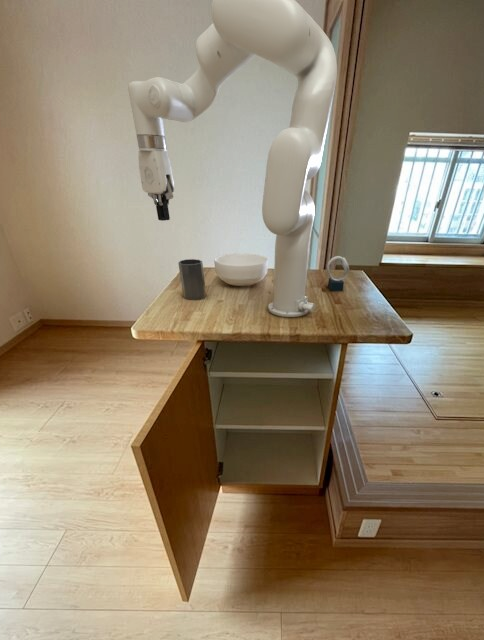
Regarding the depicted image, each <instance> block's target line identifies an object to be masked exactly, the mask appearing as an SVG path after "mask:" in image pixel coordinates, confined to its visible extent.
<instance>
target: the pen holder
mask: <svg viewBox="0 0 484 640" xmlns="http://www.w3.org/2000/svg"><path fill="white" fill-rule="evenodd" d="M177 264H178V269H179V276H180V283H181V284H180V285H181V290H182V296H183V298H184V299H186V300H190V301H191V300H192V301H196V300H197V301H198V300H203V299H204V298H205V297H206V294H207V293H206V283H205V272H204V264H203V260H201V259H195V258H189V259H187V258H186V259H182V260H179V261H178V263H177Z"/></svg>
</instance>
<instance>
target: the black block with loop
mask: <svg viewBox="0 0 484 640" xmlns="http://www.w3.org/2000/svg"><path fill="white" fill-rule="evenodd" d="M337 259H340V263H341V266H342V268H343V270H344V274H343V275H341V276H340V277H333V275H332V272H331V264H332V263H333V262H334V261H335V260H337ZM350 270H351V269H350V265H349V263H348V261H347V259H346V257H345V256H341V255H335V256H333V257H331V258H330V259H329V260H328V262H327V265H326V272H327V275H328V276H329V278H328V281H327V287H328V289H329V291H330V292H343V291H344V286H345V282H344V280H345V279H346V278H347V277H348V275H349V273H350Z"/></svg>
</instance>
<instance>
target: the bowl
mask: <svg viewBox="0 0 484 640" xmlns="http://www.w3.org/2000/svg"><path fill="white" fill-rule="evenodd" d="M213 262H214V270H215V274H216V275H217V276H218V277H219V279H220V280H221V281H223V282H224V283H226V284H228V285H230V286H235V287H237V286H238V287H247V286H253V285H256V284H258V283H259V282H260V281H262V280H263V279H264V278H265V276H266V275H267V274H268V267H269V259H268V258H267V257H266V256H263V255H261V254H256V253H244V252H240V253H239V252H237V253H227V254H222V255H218V256H216V257H214V260H213Z"/></svg>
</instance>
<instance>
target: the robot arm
mask: <svg viewBox="0 0 484 640" xmlns="http://www.w3.org/2000/svg"><path fill="white" fill-rule="evenodd" d="M211 20H212V23H211V24H210V25H209V26H208V27H207V28H206V29H205V30H204V31H203V32H202V33H201V34H200V35H199V36H198V37H197V39H196V42H195V52H196V53H195V54H196V57H197V61H198V65H199V66H198V68H197V69H196V70H195V72H194V73H193V74H192V75H190V77H189V78H188V79H187V80H185V81H184V82H182V83H180V82H178V81H175V80H173V79H170V78H169V79H168V78H165V77H161V76H155V77H151V78H149V79H146V80H133V81H130V82H129V84H128V89H127V90H128V97H129V101H130V106H131V113H132V119H133V123H134V124H133V125H134V128H135V134H136V140H137V146H138V153H137V155H138V167H139V169H138V170H139V176H140V183H141V188H142V191H143V192H145V193H147V196H148V197H150V198H151V199H152V200H153V204H154V205H155V209H156V214H157V219H158V221H161V222H163V221H170V220H171V218H170V217H171V216H170V211H169V205H170V203H169V202H170V200H171V199H173V198H174V192H175V182H174V175H173V169H172V165H171V159H170V157H169V152H168V148H167V141H166V135H165V129H164V128H165V127H164V120H168V121H169V120H170V121H175V122H179V123H189V122H192V121H193V120H195V119H197V118H198V117H199V116H201V115H202V114H203V113H204V112H206V111H207V110H208V109H209V108H210V107H211V106H212V104H213V103H214V101H215V100H216V98H217V96H218V94H219V92H220V88H221V87H222V85H223V84H224V83H225V82H226V81H228V80H229V79H230V78H231V77H232V76H233V75H235V74H236V73H237V72H238V71H239V70H241V68H243V67H244V66H245V65H246V64H248V63H249V62H250V61H251V60H252V59H254V58H255V57H256V56H257V57H260V58H262V59H265V60H267V61H269V62H271V63H273V64H274V65H276V66H278V67H279V68H281V69H283V70H284V71H286V72H288V73H290V74H291V75H293V76H295V77H296V79H297V88H296V91H295V93H294V98H293V102H292V107H291V116H290V122H289V127H287V128H284V129H283V130H281V131H279V132H278V134H276V136H275V137H274V139H273V140H272V142H271V145H270V148H269V150H268V154H267V155H268V156H267V160H266V168H265V169H266V170H265V179H264V185H263V195H262V205H261V216H262V220H263V223H264V225H265V227H266V228H267V230H268V231H269V232H270V233H272V234H274V235H275V244H274V263H273V264H274V267H273V301H272V302H270V303H269V304H268V305H267V307H268V308H267V310H268V312H269V313H271V314H272V315H275V316H278V317H282V318H298V317H302V316H305V315H307V314H308V313H314V311H315V306H316V303H313V302H310V301H309V296H308V295H306V289H307V288H306V287H307V277H308V276H307V275H308V264H309V258H310V257H309V255H310V246H311V237H312V231H313V225H314V220H315V209H316V208H315V202H314V199H313V197H312V196H311V194H310V193H309V192H308V191H307V190H306V189H305V186H306V182H307V181H309V180H311V179H313V178H314V177H315V176H316V174H317V173H318V172H319V170H320V167H321V163H322V160H323V159H322V158H323V153H324V148H325V147H324V146H325V142H326V136H327V132H328V127H329V122H330V116H331V110H332V105H333V100H334V95H335V89H336V85H337V78H338V77H337V76H338V62H337V61H338V60H337V55H336V52H335V48H334V45H333V44H332V43H333V42H331V40H330V38H329V36H328V35H327V34H326V33H325V31H324V30H323V28H321V26H320V25H319V24H318V23H317V22H316V21H315V20H314V19H313V18H312V16H311V15H310V14H309V13H308V12H307V11H306V10H305V9H304V8H303V6H301V4H300V3H298V1H297V0H211ZM163 119H164V120H163Z"/></svg>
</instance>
